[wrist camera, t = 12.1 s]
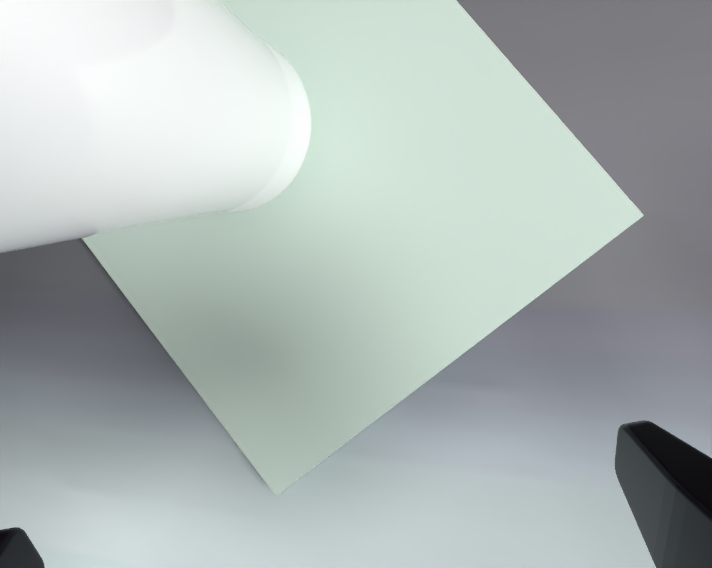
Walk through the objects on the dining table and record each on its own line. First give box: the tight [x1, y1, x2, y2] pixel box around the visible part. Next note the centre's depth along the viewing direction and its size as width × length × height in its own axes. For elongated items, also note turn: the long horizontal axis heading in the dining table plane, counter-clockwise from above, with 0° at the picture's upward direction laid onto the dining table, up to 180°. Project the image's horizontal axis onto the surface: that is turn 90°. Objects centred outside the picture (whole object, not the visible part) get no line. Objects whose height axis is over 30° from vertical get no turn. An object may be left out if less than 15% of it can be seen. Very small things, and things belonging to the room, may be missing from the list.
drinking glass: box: [0, 0, 312, 253], centre depth 12 cm, size 7×7×15 cm
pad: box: [82, 0, 644, 496], centre depth 19 cm, size 20×14×1 cm
